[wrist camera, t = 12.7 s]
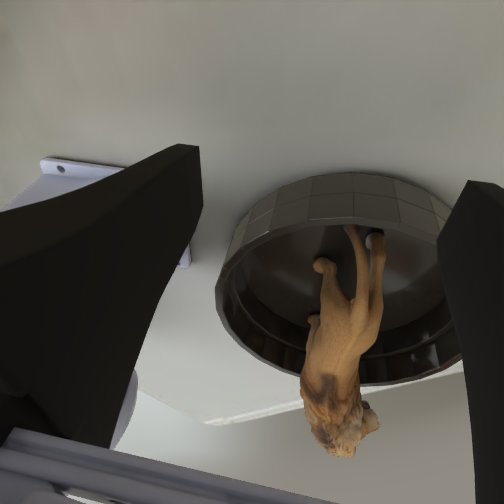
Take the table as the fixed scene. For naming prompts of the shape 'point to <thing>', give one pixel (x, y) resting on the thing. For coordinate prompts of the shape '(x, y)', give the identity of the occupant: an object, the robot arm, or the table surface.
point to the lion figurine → (343, 350)
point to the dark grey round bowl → (340, 274)
